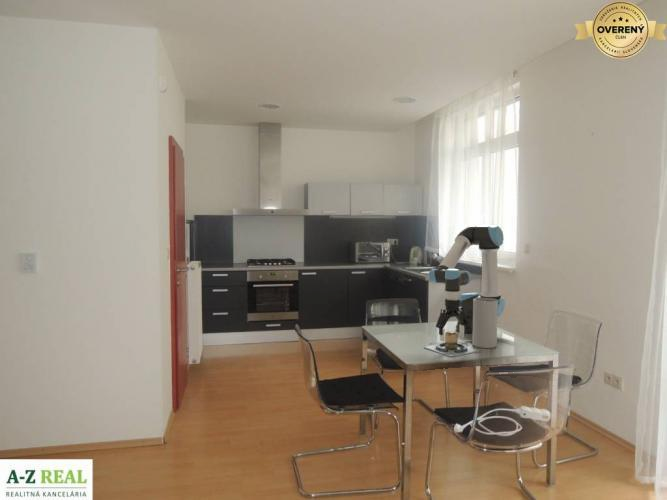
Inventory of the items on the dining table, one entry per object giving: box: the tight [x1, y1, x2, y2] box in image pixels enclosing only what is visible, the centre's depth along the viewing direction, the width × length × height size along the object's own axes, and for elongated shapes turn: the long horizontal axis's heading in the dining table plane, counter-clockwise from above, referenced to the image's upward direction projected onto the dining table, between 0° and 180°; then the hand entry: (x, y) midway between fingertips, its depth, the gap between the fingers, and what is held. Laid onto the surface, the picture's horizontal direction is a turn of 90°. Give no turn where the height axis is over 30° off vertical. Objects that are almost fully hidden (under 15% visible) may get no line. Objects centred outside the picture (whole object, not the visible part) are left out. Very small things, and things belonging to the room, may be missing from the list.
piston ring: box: [435, 341, 469, 353], centre depth 257 cm, size 16×16×2 cm
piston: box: [444, 331, 459, 350], centre depth 258 cm, size 6×6×8 cm
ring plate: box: [423, 344, 481, 358], centre depth 258 cm, size 20×20×1 cm
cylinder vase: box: [472, 298, 498, 349], centre depth 265 cm, size 12×12×25 cm
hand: (452, 339), depth 257 cm, fingers open, 13 cm apart
